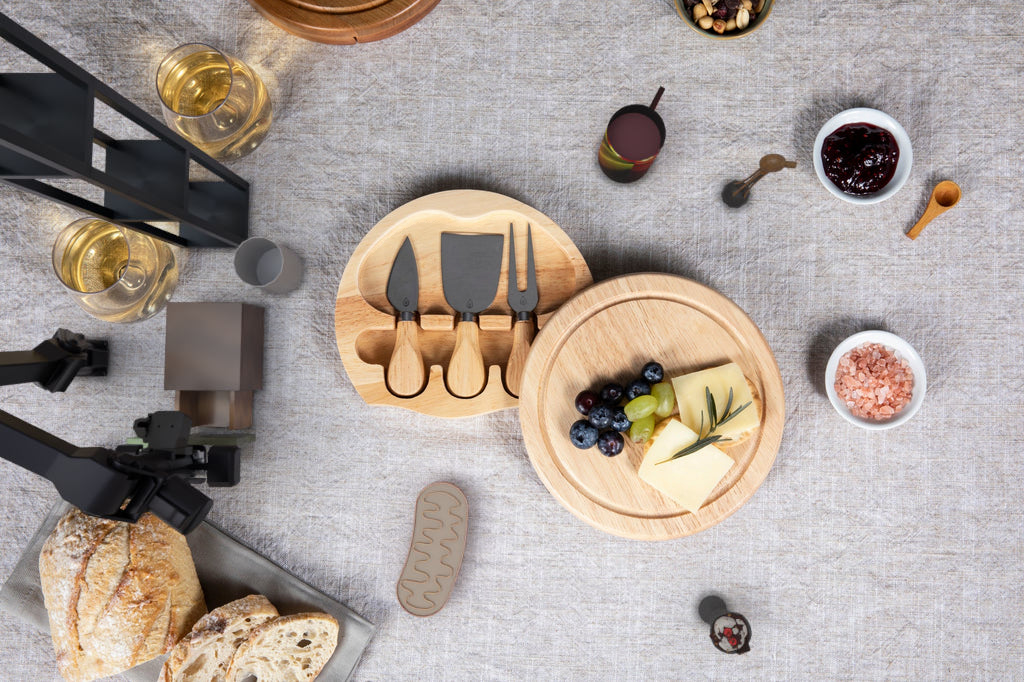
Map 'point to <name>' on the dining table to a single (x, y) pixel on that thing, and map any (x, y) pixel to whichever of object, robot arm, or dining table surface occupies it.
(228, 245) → the rack
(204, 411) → the drawer
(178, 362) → the cabinet
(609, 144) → the mug
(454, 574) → the mitochondrion model
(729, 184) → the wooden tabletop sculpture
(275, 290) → the cup
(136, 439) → the block
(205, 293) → the dining table surface
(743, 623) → the sundae
